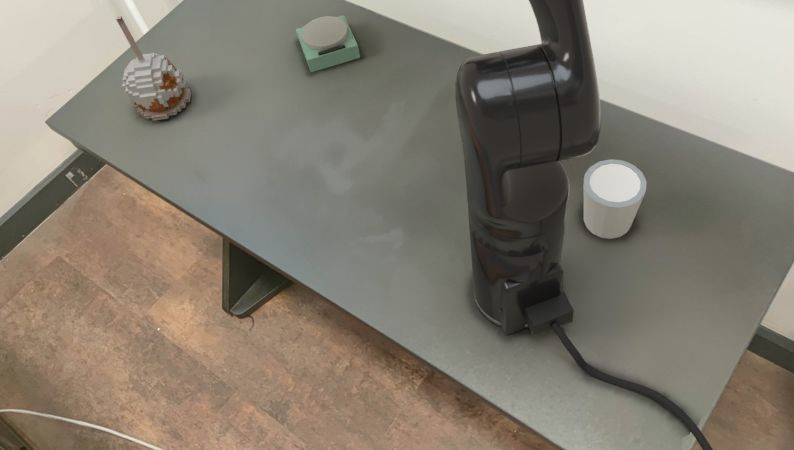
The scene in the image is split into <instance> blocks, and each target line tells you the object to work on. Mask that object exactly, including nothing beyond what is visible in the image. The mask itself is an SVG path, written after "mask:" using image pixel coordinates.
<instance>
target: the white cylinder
mask: <svg viewBox="0 0 794 450" xmlns="http://www.w3.org/2000/svg"><path fill="white" fill-rule="evenodd" d="M583 176H584V177H583V187H582V190H583V223H584V225H585V228H586V229H587V230H588V231H589V232H590V233H591V234H592V235H594V236H596V237H598V238H601V239H609V240H612V239H617V238H621V237H623V236H625V235H626V234H627V233H628V232H629V231H630V229H631V227H632V225H633V223H634V221H635V219H636V216H637V213H638V211H639V209H640V207H641V205H642V202H643V199H644V197H645V194H646V192H647V178H646V177H645V175H644V173H643V171H641V170H640V169H639V168H638V167H636V166H635V164H632V163H630V162H628V161H626V160H623V159H613V158H610V159H605V160H600V161H598V162H595V163H594V164H592V165H591V166H589V167H588V169H587V170H586V172H585V173H584V175H583Z"/></svg>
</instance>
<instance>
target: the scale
mask: <svg viewBox="0 0 794 450" xmlns="http://www.w3.org/2000/svg"><path fill="white" fill-rule="evenodd" d="M295 33H296V35H297V38H298V41H299V45H300V47H301V49H302V52H303V56H304V58H305V61H306V63H307V66H308V68H309V72H310V73H314V72H317V71H321V70H324V69H328V68H331V67H335V66H337V65H341V64H344V63H348V62H351V61H355V60H358V59H360V58H361V54H360V49H359V45H358V43H357V41H356V38H355V36H354V33H353V31H352V30H351V27H350V24H349V23H348V21H347V18H346V16H345V14H343V15H339V16H330V15H327V16H320V17H316V18H314V19H312V20H310V21H309V22H307V24H305V25H304V26H302V27H297V28H295Z"/></svg>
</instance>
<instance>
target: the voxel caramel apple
mask: <svg viewBox="0 0 794 450" xmlns="http://www.w3.org/2000/svg"><path fill="white" fill-rule="evenodd" d="M115 20H116V22H117V23H118V26H119V27H120V29H121V31H122V33H123V34H124V37H125V38H126V40H127V42H128V44H129V45H130V48H131V49H132V51H133V53H134V54H135V56H136V57H135V58H133V59H131V61H129V62H128V64H127V65H126V68H125V69H124V71H123V76H122V84H121V88H122V89H123V91H124V92H125V94H126V96H127V97H128V99H129V101H130V103H131V104H134V107H133V108H134V109H135V110H137V111H136V112H137V114H138V115H140V117H142V118H144V119H145V120H148V119H151V121H154V122H155V121H160V120H167V119H169V118H170V117H171V116H175V115H176V116H177V115H178V113H179V112H181V111H182V109H185V108H186V105H187V103H191V96H192V90H191V88H189V84H188V83H186V80H185V75H184V73H183V71H182V70H181V68H178V67H177V66H176V64H175V63H173V62H172V61H171V59H170V58H168V56H167V54H161V55H160V54H159V53H155V52H150V53H143V54H142V52H141V49H140V48H139V46H138V45H137V42H136V41H135V39H134V37H133V36H132V34H131V32H130V29H129V28H128V26H127V24H126V22H125V20H124V18H123V17H122V15H119V16H116V18H115Z"/></svg>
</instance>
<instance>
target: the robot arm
mask: <svg viewBox="0 0 794 450" xmlns="http://www.w3.org/2000/svg"><path fill="white" fill-rule="evenodd" d="M528 2H529V4H530V7H531V9H532V12H533V14H534V18H535V20H536V24H537V27H538V32H539V37H540V41H541V43H539V44H533V45H528V46H523V47H517V48H512V49H506V50H501V51H495V52H490V53H489V52H488V53H484V54H479V55H475V56H471V57H468V58H466V59H465V60H463V61H462V63H461V64H460V66H459V68H458V70H457V74H456V79H455V90H454V91H455V93H454V95H455V97H454V98H455V107H456V115H457V122H458V127H459V128H458V129H459V133H460V139H461V144H462V152H463V162H464V173H465V185H466V186H465V187H466V203H467V210H468V211H467V212H468V229H469V239H470V240H469V241H470V256H471V257H470V258H471V270H472V272H471V273H472V281H473V284H472V285H473V286H472V293H473V300H474V303H475V306H476V308H477V309H478V311H479V312H480V314H481V315H482V316H483V317H484V318H485V319H486V320H488V321H489V322H490V323H492V324H494V325H496V326H498V327H501V329H502V330H503V332H504V334H505V335H511V334H514V333H516V332H520V331H522V330H525V329H528V328H529V329H528V330H529V331H530V332H531V335H532V336H533V337H535V336H537V335H539V334H542V333H545V332H547V331H550V330H552V331H553V332H554V333H555V335H556V336H557V338H558V340H559V341H560V343H561V344H562V346H563V347H564V348H565V349H566V351H567V353H569V355H570V356H571V357H572V359H573V360H574V361H575V363H576V364H577V366H578V367H579V368H580V369H581V370H582V371H583V372H585V373H587V374H588V375H589V376H592V377H593V378H595V379H597V380H600V381H602V382H604V383H607V384H610V385H613V386H615V387H619V388H622V389H626V390H629V391H632V392H634V393H638V394H641V395H643V396H646V397H648V398H649V399H652V400H654V401H656V402H658V403H659V404H661V405H662V406H664V407H665V408H666V409H668V410H669V411H670V412H672V413H673V414H674V415H675V416H676V417H677V418H678V419H679V420H680V421H681V423H683V424H684V425H685V426H686V428H687V429H688V430H689V431H690V433H691V434H692V435H693V437H694V438H695V440H696V441H697V443H698V444H699V446H700V447H701V449H702V450H714V449H713V447H712V445H711V444H710V443H709V441H708V440H707V438H706V437H705V435H704V433H703V432H702V431H701V429H700V428H699V426H697V424H696V423H695V421H694V420H693V419H692V418H691V417H690V416H689V415H688V414H687V413H686V412H685V411H684V410H683V409H682V408H681V406H679V405H677V404H676V403H675V402H674V401H673V400H672V399H669V398H668V397H667V396H665V395H663V394H661V393H660V392H658V391H656V390H655V389H652V388H650V387H648V386H644V385H642V384H639V383H636V382H633V381H629V380H626V379H622V378H619V377H617V376H613V375H610V374H607V373H605V372H603V371H601V370H599V369H597V368H595V367H594V366H592V365H591V364H590V363H588V362H587V361H586V360H585V359H584V357H583V356H582V354H581V353H580V352H579V350H578V349H577V348H576V346H575V344H573V342H572V341H571V339H570V338H569V336H568V335H567V333H566V332H565V331H564V329H563V328H562V326H564V325H566V324H569V323H572V322H573V321H574V314H575V310H574V308H573V306H572V304H571V302H570V300H569V298H568V297H567V295H566V293H565V291H564V290H562V286H563V279H564V278H563V277H564V268H563V267H562V256H563V248H564V246H563V245H564V239H565V229H566V222H567V214H568V207H569V198H570V191H571V190H570V189H571V187H570V179H569V175H568V172H567V170H566V168H565V166H564V164H563V163H562V162H561V161H567V160H570V159H575V158H580V157H583V156H587V155H588V154H590V153H591V152H592V151H593V150H594V149H595V148H596V147H597V144H598V142H599V139H600V134H601V126H602V125H601V124H602V109H601V97H600V89H599V83H598V77H597V76H598V75H597V70H596V63H595V58H594V53H593V47H592V41H591V37H590V31H589V26H588V21H587V15H586V9H585V5H584V0H528Z"/></svg>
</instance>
